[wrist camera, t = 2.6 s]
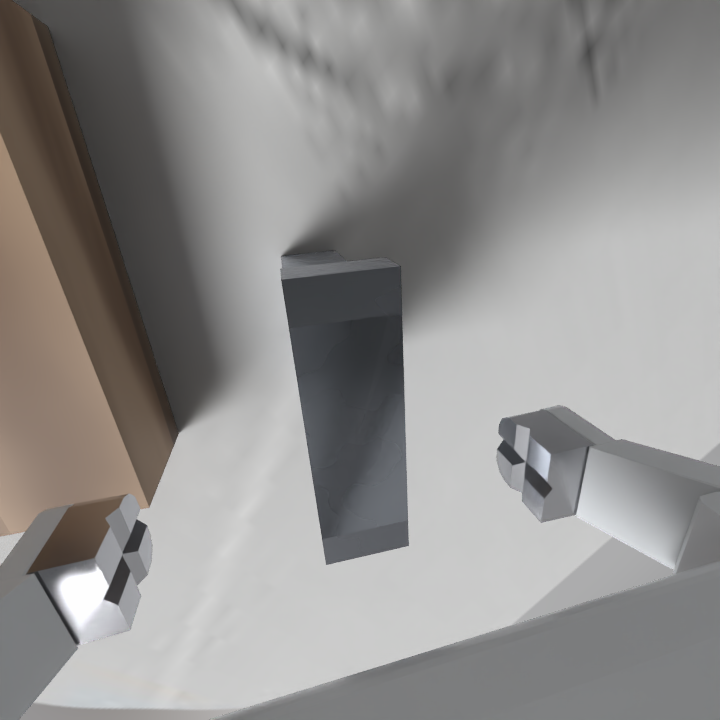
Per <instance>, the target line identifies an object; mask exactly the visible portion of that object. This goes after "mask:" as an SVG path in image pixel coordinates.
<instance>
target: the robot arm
mask: <svg viewBox="0 0 720 720" xmlns="http://www.w3.org/2000/svg"><path fill="white" fill-rule="evenodd" d="M499 435H500V436H501V437H502V438H503V441H502V443H501V444H500V446H499V447H498V449H497V464H498V467H499V471H500V473H501V475H502V477H503V479H504V480H505V482H506V483H507V484H508V485H509V487H510V488H512V489H515V490H517V491H519V492H521V493H522V502H523V503H524V504H525V505H526V506H527V507H528V508H529V510H530V511H531V512H532V513H533V514H534V515H535V516H536V518H537V519H538V520H539V521H540V522H541V523H542V522H546V521H551V520H555V519H559V518H564V517H568V516H572V515H576V517H577V518H579V519H581V520H583V521H585V522H587V523H588V524H590V525H592V526H594V527H596V528H597V529H599V530H601V531H603V532H605V533H607V534H608V535H610V536H612V537H614V538H616V539H618V540H619V541H621V542H623V543H625V544H627V545H629V546H631V547H632V548H634V549H636V550H638V551H640V552H641V553H643V554H645V555H647V556H649V557H651V558H653V559H654V560H656V561H658V562H660V563H662V564H664V565H665V566H667V567H669V568H671V569H673V570H674V571H673V574H672V575H671V576H668V577H665V578H662V579H658V580H655V581H652V582H649V583H646V584H642V585H639V586H636V587H633V588H630V589H626V590H623V591H620V592H617V593H613V594H611V595H607V596H604V597H601V598H598V599H594V600H591V601H588V602H585V603H581V604H579V605H575V606H572V607H569V608H565V609H562V610H559V611H556V612H553V613H549V614H546V615H543V616H540V617H537V618H534V619H530V620H527V621H524V622H521V623H518V624H514V625H511V626H508V627H505V628H502V629H498V630H495V631H492V632H489V633H486V634H482V635H479V636H476V637H473V638H470V639H466V640H463V641H460V642H457V643H454V644H450V645H447V646H444V647H441V648H438V649H434V650H431V651H428V652H425V653H421V654H418V655H415V656H412V657H409V658H405V659H402V660H399V661H396V662H392V663H389V664H386V665H383V666H380V667H376V668H373V669H370V670H367V671H363V672H360V673H357V674H354V675H350V676H347V677H344V678H341V679H338V680H334V681H331V682H328V683H325V684H321V685H318V686H315V687H312V688H309V689H305V690H302V691H299V692H296V693H292V694H289V695H286V696H283V697H279V698H276V699H273V700H270V701H267V702H263V703H260V704H257V705H254V706H251V707H247V708H244V709H241V710H238V711H235V712H232V713H228V714H225V715H222V716H218V717H215V718H212V719H209V720H720V466H717V465H713V464H709V463H706V462H702V461H699V460H695V459H691V458H688V457H684V456H681V455H677V454H673V453H670V452H666V451H663V450H659V449H655V448H652V447H648V446H645V445H641V444H637V443H634V442H630V441H627V440H623V439H621V440H615V439H613V438H612V437H610V436H609V435H607V434H606V433H604V432H603V431H601V430H600V429H598V428H597V427H595V426H594V425H592V424H591V423H589V422H588V421H586V420H585V419H583V418H582V417H580V416H579V415H577V414H576V413H574V412H573V411H571V410H570V409H568V408H567V407H565V406H560V405H558V406H554V407H549V408H545V409H541V410H540V411H535V412H530V413H525V414H521V415H516V416H511V417H506V418H502V420H501V422H500V424H499ZM139 511H140V506H139V504H138V502H137V500H136V498H135V496H133V495H131V494H124V495H119V496H113V497H108V498H102V499H97V500H91V501H86V502H80V503H75V504H70V505H65V506H60V507H55V508H50V509H46V510H44V511H43V512H41V513H39V514H38V515H37V517H36V518H35V519H34V521H33V522H32V523H31V525H30V526H29V528H28V529H27V530H26V532H25V533H24V534H23V536H22V537H21V539H20V540H19V541H18V543H17V544H16V545H15V547H14V548H13V550H12V551H11V552H10V554H9V555H8V556H7V558H6V559H5V560H4V562H3V563H2V565H1V566H0V720H19V719H20V718H21V716H22V715H23V714H24V713H25V712H26V710H27V709H28V708H29V707H30V706H31V705H32V703H33V702H34V701H35V700H36V699H37V697H38V696H39V695H40V694H41V693H42V691H43V690H44V689H45V688H46V686H47V685H48V684H49V683H50V682H51V680H52V679H53V678H54V677H55V676H56V674H57V673H58V672H59V671H60V670H61V668H62V667H63V666H64V665H65V663H66V662H67V661H68V660H69V659H70V657H71V656H72V655H73V654H74V653H75V651H76V650H77V649H78V647H77V646H78V645H81V644H85V643H88V642H91V641H95V640H98V639H102V638H105V637H109V636H112V635H116V634H119V633H122V632H126V631H129V630H130V629H131V626H132V623H133V620H134V617H135V614H136V610H137V607H138V604H139V601H140V598H141V594H140V592H139V589H138V587H137V585H138V584H139V583H140V582H141V581H142V580H143V579H144V578H145V577H146V576H147V575H148V572H149V568H150V565H151V561H152V540H151V534H150V532H149V529H148V526H147V525H146V524H144V523H142V522H140V521H139V520H137V516H138V514H139Z"/></svg>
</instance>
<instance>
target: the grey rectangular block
mask: <svg viewBox="0 0 720 720" xmlns="http://www.w3.org/2000/svg"><path fill="white" fill-rule="evenodd" d="M281 260H282V269H280V270H281V281H282V287H283V293H284V300H285V306H286V312H287V319H288V325H289V331H290V338H291V344H292V351H293V357H294V363H295V370H296V376H297V382H298V389H299V395H300V401H301V408H302V414H303V420H304V427H305V433H306V439H307V446H308V452H309V458H310V465H311V471H312V477H313V484H314V490H315V496H316V503H317V509H318V515H319V522H320V528H321V534H322V541H323V547H324V554H325V560H326V565H328V564H332V563H336V562H341V561H345V560H349V559H354V558H358V557H362V556H367V555H371V554H375V553H380V552H384V551H388V550H392V549H397V548H401V547H405V546H409V541H408V506H407V471H406V437H405V402H404V367H403V332H402V297H401V266H400V265H398V264H396V263H395V262H393V261H391V260H389V259H388V258H386V257H382V258H373V259H364V260H355V261H346V260H345V259H344V258H343V257H342V256H341V255H339V254H338V253H337V252H336V251H325V252H316V253H306V254H297V255H287V256H281Z"/></svg>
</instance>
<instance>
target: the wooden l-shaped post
mask: <svg viewBox="0 0 720 720" xmlns="http://www.w3.org/2000/svg"><path fill="white" fill-rule="evenodd" d="M178 434H179V433H178V430H177V427H176V424H175V421H174V418H173V414H172V411H171V408H170V405H169V402H168V399H167V396H166V393H165V390H164V386H163V383H162V380H161V377H160V374H159V371H158V368H157V365H156V362H155V358H154V355H153V352H152V349H151V346H150V343H149V340H148V337H147V334H146V330H145V327H144V324H143V321H142V318H141V315H140V312H139V309H138V306H137V302H136V299H135V296H134V293H133V290H132V287H131V284H130V281H129V278H128V274H127V271H126V268H125V265H124V262H123V259H122V256H121V253H120V250H119V246H118V243H117V240H116V237H115V234H114V231H113V228H112V225H111V222H110V218H109V215H108V212H107V209H106V206H105V203H104V200H103V197H102V194H101V190H100V187H99V184H98V181H97V178H96V175H95V172H94V169H93V166H92V163H91V159H90V156H89V153H88V150H87V147H86V144H85V141H84V138H83V135H82V131H81V128H80V125H79V122H78V119H77V116H76V113H75V110H74V107H73V103H72V100H71V97H70V94H69V91H68V88H67V85H66V82H65V79H64V75H63V72H62V69H61V66H60V63H59V60H58V57H57V54H56V51H55V47H54V44H53V41H52V38H51V35H50V32H49V29H48V26H46V25H45V24H43V23H42V22H41V21H39V20H38V19H37V18H35V17H34V16H33V15H31V14H30V13H29V12H27V11H26V10H24V9H23V8H22V7H20V6H19V5H18V4H16V3H15V2H14V1H12V0H0V536H5V535H11V534H16V533H21V532H26V530H27V529H28V528H29V526H30V525H31V523H32V522H33V521H34V519H35V518H36V517H37V515H38V514H39V513H41V512H43V511H44V510H46V509H50V508H55V507H60V506H65V505H70V504H75V503H80V502H86V501H91V500H97V499H102V498H108V497H113V496H119V495H124V494H131V495H133V496H135V498H136V500H137V502H138V504H139V506H140V509H144V508H149V507H150V504H151V502H152V499H153V497H154V494H155V492H156V489H157V487H158V484H159V482H160V479H161V477H162V474H163V472H164V469H165V467H166V464H167V462H168V459H169V457H170V454H171V452H172V449H173V447H174V444H175V441H176V439H177V436H178Z"/></svg>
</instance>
